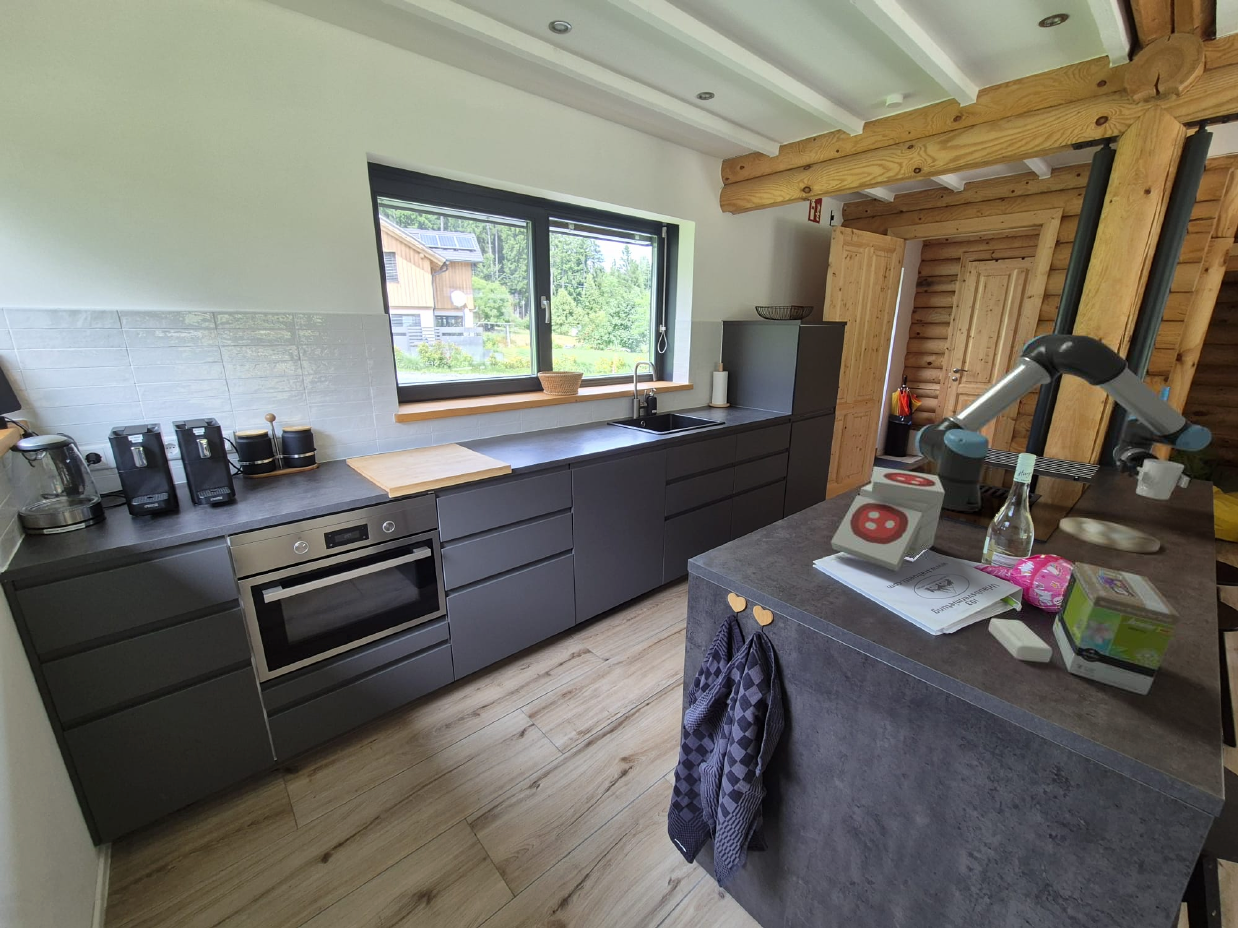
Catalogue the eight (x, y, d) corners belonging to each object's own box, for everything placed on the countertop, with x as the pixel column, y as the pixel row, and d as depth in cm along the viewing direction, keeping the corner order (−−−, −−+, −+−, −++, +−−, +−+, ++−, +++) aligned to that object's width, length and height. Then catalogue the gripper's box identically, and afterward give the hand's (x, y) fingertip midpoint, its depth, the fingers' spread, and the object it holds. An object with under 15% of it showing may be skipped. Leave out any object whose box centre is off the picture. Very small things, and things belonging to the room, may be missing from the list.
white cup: (1153, 492, 147) (1166, 459, 145) (1179, 501, 140) (1193, 467, 137) (1125, 490, 148) (1136, 457, 145) (1149, 499, 140) (1162, 465, 138)
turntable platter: (1065, 539, 134) (1067, 533, 134) (1054, 516, 150) (1055, 511, 150) (1170, 560, 124) (1172, 554, 123) (1145, 533, 140) (1147, 528, 139)
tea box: (1149, 698, 78) (1183, 615, 74) (1066, 673, 83) (1093, 594, 79) (1121, 647, 90) (1148, 574, 86) (1050, 628, 95) (1073, 558, 91)
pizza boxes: (821, 553, 123) (832, 484, 118) (869, 523, 143) (881, 463, 137) (904, 584, 109) (921, 508, 104) (945, 546, 129) (961, 480, 124)
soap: (1050, 664, 85) (1055, 649, 84) (1015, 661, 86) (1020, 646, 85) (1017, 632, 94) (1021, 619, 93) (986, 629, 94) (989, 616, 94)
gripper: (1182, 480, 152) (1213, 501, 134) (1093, 467, 163) (1110, 484, 145) (1191, 457, 150) (1223, 474, 132) (1100, 445, 161) (1119, 459, 142)
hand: (1164, 479), depth 138 cm, fingers closed on white cup, 8 cm apart
